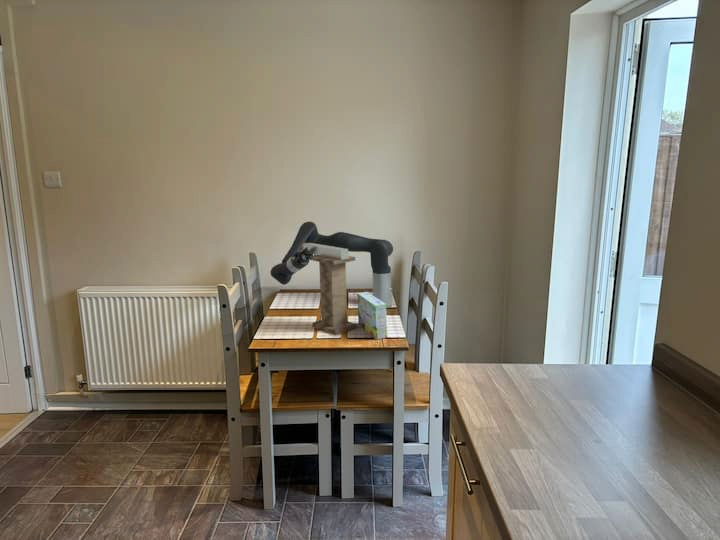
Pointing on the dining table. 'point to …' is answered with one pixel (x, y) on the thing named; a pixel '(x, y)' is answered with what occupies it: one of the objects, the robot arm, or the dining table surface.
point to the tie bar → (326, 251)
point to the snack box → (372, 315)
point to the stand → (333, 295)
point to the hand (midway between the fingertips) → (315, 247)
